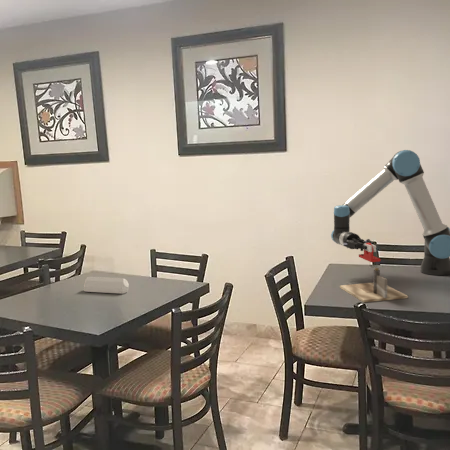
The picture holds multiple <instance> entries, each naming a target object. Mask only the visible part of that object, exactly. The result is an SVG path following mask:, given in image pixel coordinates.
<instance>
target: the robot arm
mask: <svg viewBox="0 0 450 450" xmlns="http://www.w3.org/2000/svg"><path fill="white" fill-rule="evenodd" d="M424 175H425V171H424V169H423V167H422V165H421V161H420V157H419V155H418V153H416V152H414V151H413V150H410V149H404V150H400V151H398V152H396V153H395V154H394V155H393V156H392V158H391V159H389V161H388V162H387V163H386V164H384V166H383V169H382V170H381V171H380V172H378V173H377V174H376V175H375V176H374V177H373V178H372V179H371V180H369V181H368V182H367V183H366V184H365V185H364V186H362V187H361V188H360V189H359V190H358V191H356V192H355V193H354V194H353V195H352V196H351V197H350V198H348V200H347V201H345V202H344V203H343V204H342V205H336V206H334V208H333V224H334V225H333V230H332V232H331V234H330V237H331V240H332V241H333V242H334V243H335V244H337V245H341V246H342V247H345V248H346V249H349V250H359V249H360V251H361V252H364V250H366V251H368V252H372V247H373V253H377V245H375V242H373V241H372V240H371V239H370V238H367V239H365V240H364V239H363V238H361V237H360V235H359V234H357V233H355V232H351V229H350V222H351V221H350V218H352V216H354V215H355V214H356V213H357V212H359V211H360V210H361V209H362V208H363V207H365V205H367V204H368V203H369V202H370V201H372V200H373V199H374V198H375V197H376V196H377V195H378V194H380V193H381V192H382V191H383V190H384V189H386V188H387V187H388V186H389V185H390V184H391V183H393V182H394V181H398V182H399V183H400V184H401V185H404V187H405V190H406V192H407V194H408V196H409V198H410V199H409V200H410V201H411V204H412V205H413V207H414V210H415V212H416V214H417V217H418V219H419V222H420V223H421V226H422V228H423V232H422V237H423V240H424V247H423V248H424V249H423V250H424V254H423V256H424V257H423V259H422V262H421V265H420V272H421V273H423V274H425V275H430V276H431V275H432V276H449V275H450V227H449V226H448V225H447V224H445V223H443V221H442V219H441V217H440V215H439V212H438V210H437V208H436V205H435V203H434V201H433V198H432V196H431V195H430V192H429V190H428V187H427V185H426V183H425V180H424V178H423V176H424ZM366 243H371V244H372V246H371V245H368V244H366Z"/></svg>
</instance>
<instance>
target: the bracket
mask: <svg viewBox="0 0 450 450" xmlns="http://www.w3.org/2000/svg"><path fill="white" fill-rule="evenodd" d="M366 244H368V245H371V246H372V244H371V243H366ZM358 258H361V259H363V260H364V261H367V262H369V263H376V262H381V258H379V257H376V256H374V252H373V247H372V252H369V251H366V250H364V249H363V253H360V254H358Z"/></svg>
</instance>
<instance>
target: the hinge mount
mask: <svg viewBox="0 0 450 450" xmlns="http://www.w3.org/2000/svg"><path fill="white" fill-rule="evenodd" d="M339 289H341V290H343V291H345V292H346V293H348V294H350V296H352V297H354V298H355V299H357V300H359V301H360V302H362V303H370V302H380V301H381V302H382V301H391V300H392V301H393V300H401V299H408V298H409V295H407V294H405V293H403V292H401V291H399V290H397V289H395V288H393V287H391V286H390V285H388V278H386V277H384V276H382V275H381V269H379V267H375V268H374V269H373V282H365V283H364V282H363V283H355V284H353V283H352V284H343V285H339Z"/></svg>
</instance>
